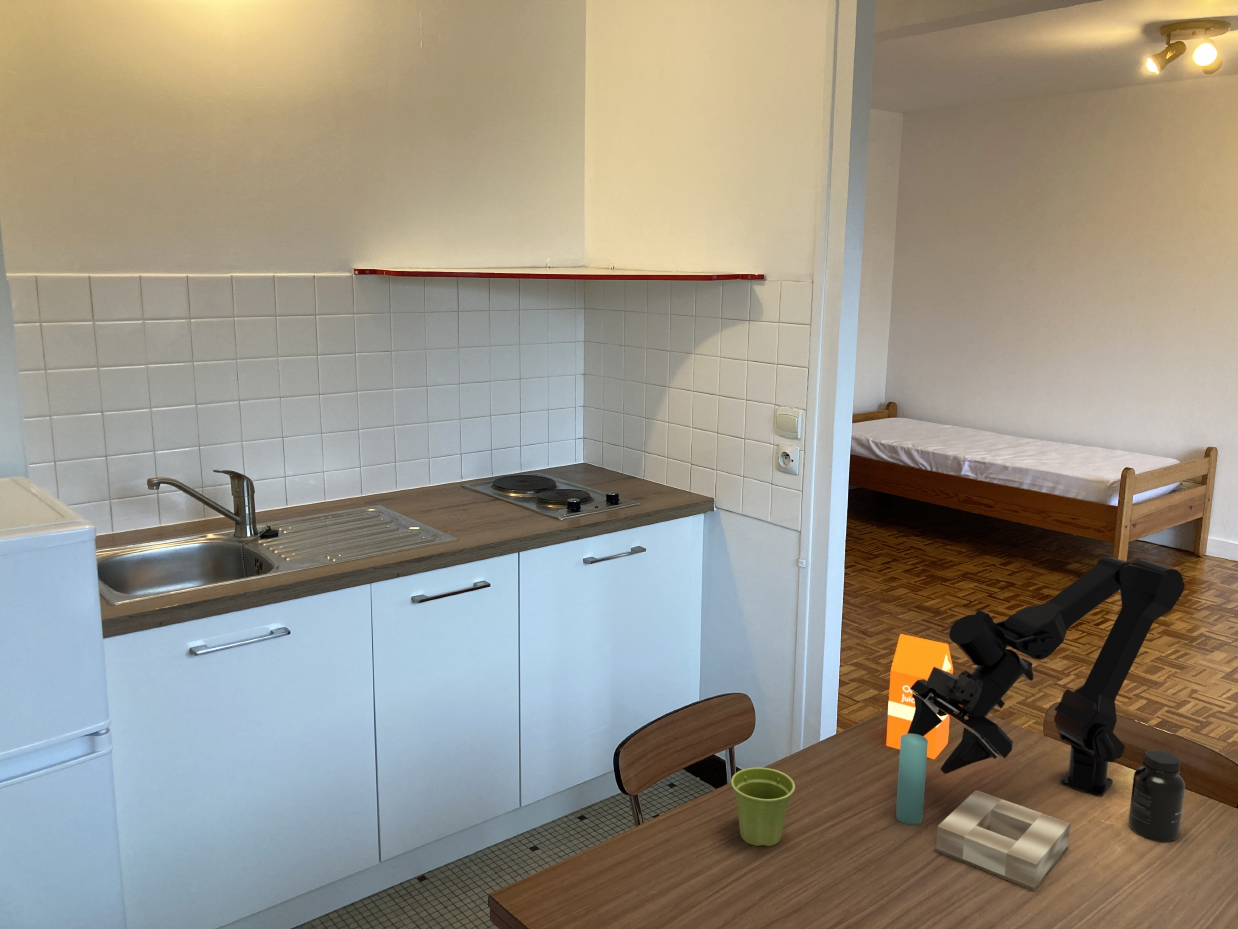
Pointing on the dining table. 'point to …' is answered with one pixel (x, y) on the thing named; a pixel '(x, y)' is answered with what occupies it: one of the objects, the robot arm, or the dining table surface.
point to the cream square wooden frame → (1003, 839)
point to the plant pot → (762, 804)
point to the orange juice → (906, 669)
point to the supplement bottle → (1157, 797)
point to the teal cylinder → (911, 778)
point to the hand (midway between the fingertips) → (923, 757)
